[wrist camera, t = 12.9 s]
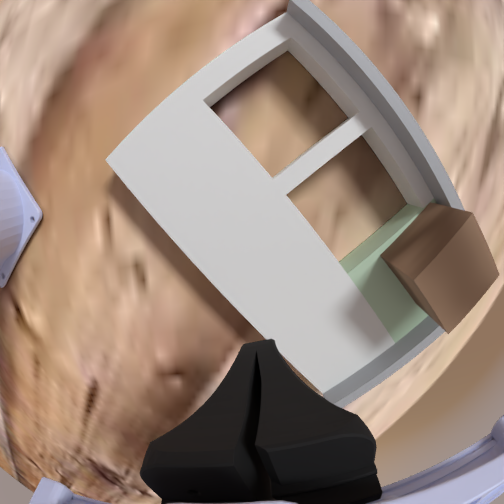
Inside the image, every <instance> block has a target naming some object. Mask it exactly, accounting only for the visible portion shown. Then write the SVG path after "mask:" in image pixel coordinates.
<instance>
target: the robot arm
mask: <svg viewBox="0 0 504 504" xmlns="http://www.w3.org/2000/svg"><path fill="white" fill-rule="evenodd" d="M33 217H34V219H35V221H34V220H33ZM41 219H42V211H41V209H40V207H39V206H38V204H37V203H36V201H35V200H34V198H33V197H32V195H31V194H30V192H29V190H28V189H27V187H26V186H25V184H24V182H23V181H22V179H21V177H20V176H19V174H18V172H17V171H16V169H15V167H14V165H13V164H12V162H11V160H10V158H9V156H8V155H7V153H6V151H5V149H4V147H0V287H1V288H3V287H4V286H5V285H6V283H7V281H8V279H9V277H10V275H11V273H12V271H13V269H14V267H15V265H16V263H17V261H18V259H19V257H20V255H21V253H22V251H23V250H24V248H25V246H26V244H27V242H28V241H29V239H30V237H31V236H32V234H33V232H34V230H35V229H36V227H37V225H38V224H39V222H40V221H41ZM375 453H376V441H375V439H374V437H373V435H372V433H371V432H370V430H369V429H368V427H367V426H366V425H365V423H364V422H363V421H362V420H361V419H360V417H359V416H358V415H356V414H354V413H351V412H349V411H346V410H344V409H342V408H340V407H338V406H336V405H335V404H333V403H331V402H329V401H328V400H326V399H325V398H323V397H322V396H320V395H319V394H317V393H316V392H315V391H313V390H312V389H311V388H310V387H308V386H307V385H306V384H305V383H304V382H303V381H302V380H301V379H300V378H299V377H298V376H297V375H296V374H295V373H294V372H293V371H292V369H291V368H290V367H289V366H288V364H287V363H286V362H285V360H284V359H283V357H282V356H281V354H280V353H279V351H278V349H277V347H276V343H275V340H273V339H267V340H262V341H257V342H252V343H247V344H243V346H242V347H241V349H240V351H239V353H238V355H237V357H236V359H235V361H234V363H233V365H232V366H231V368H230V370H229V371H228V373H227V375H226V376H225V378H224V379H223V381H222V382H221V384H220V385H219V387H218V388H217V389H216V391H215V392H214V393H213V394H212V396H211V397H210V398H209V399H208V400H207V401H206V402H205V403H204V404H203V405H202V406H201V407H200V408H199V409H198V410H197V411H196V412H195V413H194V414H193V415H191V416H190V417H189V418H188V419H186V420H185V421H184V422H183V423H181V424H180V425H178V426H177V427H176V428H174V429H173V430H171V431H170V432H168V433H166V434H164V435H163V436H161V437H159V438H157V439H156V440H154V441H152V442H150V444H149V447H148V449H147V451H146V454H145V458H144V461H143V464H142V467H141V471H140V476H141V478H142V480H143V481H144V482H145V483H146V485H148V486H149V487H150V488H151V489H152V490H153V491H154V492H155V493H156V494H157V495H158V496H159V497H160V498H162V502H161V504H489V503H490V502H492V501H493V500H494V499H496V498H497V497H498V496H500V495H501V494H502V493H503V492H504V415H503V416H502V417H501V418H499V420H498V421H497V422H496V423H495V425H494V426H493V429H492V431H491V433H490V434H488V435H487V436H485V437H484V438H482V439H481V440H479V441H478V442H476V443H474V444H473V445H471V446H469V447H468V448H466V449H464V450H463V451H461V452H459V453H457V454H456V455H454V456H452V457H450V458H448V459H446V460H444V461H442V462H440V463H438V464H436V465H434V466H432V467H430V468H428V469H426V470H424V471H421V472H419V473H417V474H415V475H412V476H410V477H408V478H405V479H403V480H400V481H398V482H395V483H392V484H390V485H387V486H384V487H381V486H380V483H379V480H378V477H377V475H376V474H377V469H376V466H375V464H374V460H375ZM29 504H111V503H106V502H102V501H98V500H94V499H91V498H87V497H84V496H80V495H77V494H74V493H73V492H72V491H71V490H70V489H69V488H67V487H66V486H65V485H63V484H62V483H60V482H57V481H54V480H52V479H49V478H46V477H42V479H41V481H40V483H39V485H38V487H37V488H36V490H35V492H34V495H33V496H32V499H31V500H30V503H29Z"/></svg>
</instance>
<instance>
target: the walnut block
mask: <svg viewBox="0 0 504 504" xmlns="http://www.w3.org/2000/svg"><path fill="white" fill-rule="evenodd" d="M380 256H381V258H382V259H383V260H384V261H385V263H386V264H387V265H388V267H389V268H390V269H391V270H392V272H393V273H394V274H395V276H396V277H397V278H398V280H399V281H400V282H401V284H402V285H403V287H404V288H405V289H406V291H407V292H408V293H409V295H410V296H411V298H412V299H413V300H414V302H415V303H416V304H417V305H418V306H419V307H420V308H421V309H422V310H423V311H424V312H425V313H427V314H428V315H429V316H430V317H431V318H432V319H433V320H434V321H435V322H436V323H437V324H438V325H439V326H440V327H441V328H442V329H443V330H444V331H446V332H447V333H448V334H449V333H450V332H451V331H452V330H453V329H454V328H455V327H456V326H457V325H458V324H459V323H460V321H461V320H462V319H463V318H464V317H465V316H466V315H467V314H468V313H469V312H470V310H471V309H472V308H473V307H474V306H475V305H476V303H477V302H478V301H479V300H480V299H481V298H482V296H483V295H484V294H485V293H486V291H487V290H488V289H489V288H490V286H491V285H492V284H493V283H494V281H495V280H496V279H497V277H498V276H499V272H498V270H497V267H496V264H495V262H494V259H493V257H492V254H491V252H490V249H489V247H488V245H487V242H486V240H485V238H484V236H483V233H482V231H481V229H480V227H479V225H478V223H477V221H476V219H475V216H474V214H473V213H471V212H468V211H464V210H460V209H456V208H452V207H448V206H444V205H440V204H436V203H431V202H430V203H429V204H428V205H427V206H426V207H425V208H424V210H423V211H422V212H421V213H420V214H419V215H418V216H417V217H416V218H415V219H414V221H413V222H412V223H411V224H410V225H409V226H408V227H407V228H406V229H405V230H404V231H403V232H402V233H401V234H400V235H399V236H398V237H397V238H396V239H395V241H394V242H393V243H392V244H391V245H390V246H389V247H388V248H387V249H386V250H385V251H384V252H383V253H382V254H381V255H380Z"/></svg>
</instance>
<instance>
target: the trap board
mask: <svg viewBox="0 0 504 504" xmlns="http://www.w3.org/2000/svg"><path fill="white" fill-rule="evenodd" d="M286 51H289V52H290V53H291V54H292V55H293V56H294V57H295V58H296V59H297V60H298V61H299V62H300V63H301V64H302V65H303V66H304V68H305V69H306V70H307V71H308V72H309V73H310V74H311V75H312V76H313V77H314V78H315V79H316V80H317V81H318V83H319V84H320V85H321V86H322V87H323V88H324V89H325V90H326V92H327V93H328V94H329V95H330V96H331V97H332V99H333V100H334V101H335V102H336V103H337V105H338V106H339V107H340V108H341V109H342V111H343V112H344V113H345V114H346V116H347V117H348V119H347V120H345V121H344V122H343V123H341V124H340V125H339V126H337V127H336V128H335V129H334V130H332V131H331V132H330V133H328V134H327V135H326V136H324V137H323V138H322V139H320V140H319V141H318V142H317V143H315V144H314V145H313V146H311V147H310V148H309V149H308V150H306V151H305V152H304V153H303V154H301V155H300V156H299V157H298V158H296V159H295V160H294V161H292V162H291V163H290V164H289V165H287V166H286V167H285V168H284V169H283V170H281V171H280V172H279V173H278V174H276V175H275V176H274V177H273V178H272V177H271V176H270V175H269V174H268V173H267V171H266V170H265V169H264V168H263V167H262V165H261V164H260V163H259V162H258V161H257V160H256V158H255V157H254V156H253V155H252V154H251V153H250V152H249V150H248V149H247V148H246V147H245V146H244V145H243V144H242V143H241V141H240V140H239V139H238V138H237V137H236V136H235V135H234V134H233V132H232V131H231V130H230V129H229V128H228V127H227V126H226V125H225V124H224V123H223V121H222V120H221V119H220V118H219V117H218V116H217V115H216V114H215V113H214V112H213V111H212V110H211V108H210V107H211V106H212V105H214V104H215V103H216V102H217V101H218V100H220V99H221V98H222V97H224V96H225V95H226V94H227V93H229V92H230V91H231V90H232V89H234V88H235V87H236V86H238V85H239V84H240V83H242V82H243V81H244V80H246V79H247V78H248V77H250V76H251V75H253V74H254V73H255V72H257V71H258V70H260V69H261V68H263V67H264V66H265V65H267V64H268V63H270V62H271V61H273V60H274V59H276V58H277V57H279V56H280V55H282V54H283V53H285V52H286ZM361 135H362V136H363V138H364V139H365V140H366V142H367V143H368V144H369V146H370V147H371V149H372V150H373V151H374V153H375V154H376V156H377V157H378V159H379V160H380V162H381V163H382V164H383V166H384V167H385V169H386V170H387V172H388V173H389V175H390V177H391V178H392V180H393V181H394V183H395V184H396V186H397V188H398V189H399V191H400V192H401V194H402V196H403V197H404V199H405V201H406V202H407V205H406V206H404V207H403V208H402V209H401V210H400V211H399V212H398V213H397V214H395V215H394V216H393V217H392V218H391V219H390V220H389V221H387V222H386V223H385V224H384V225H383V226H382V227H380V228H379V229H378V230H377V231H376V232H375V233H373V234H372V235H371V236H370V237H369V238H367V239H366V240H365V241H364V242H363V243H361V244H360V245H359V246H358V247H357V248H355V249H354V250H353V251H352V252H351V253H349V254H348V255H347V256H346V257H344V258H343V259H342V260H341V261H340V262H338V261H337V259H336V258H335V257H334V255H333V254H332V253H331V251H330V250H329V249H328V247H327V246H326V245H325V243H324V242H323V241H322V239H321V238H320V237H319V236H318V234H317V233H316V232H315V230H314V229H313V228H312V227H311V225H310V224H309V223H308V221H307V220H306V219H305V218H304V216H303V215H302V214H301V213H300V211H299V210H298V209H297V208H296V206H295V205H294V204H293V203H292V201H291V200H290V199H289V198H288V197H287V195H286V194H288V193H289V192H290V191H291V190H293V189H294V188H295V187H296V186H298V185H299V184H300V183H301V182H302V181H304V180H305V179H306V178H307V177H309V176H310V175H311V174H312V173H314V172H315V171H316V170H317V169H319V168H320V167H321V166H322V165H324V164H325V163H326V162H327V161H329V160H330V159H331V158H333V157H334V156H335V155H336V154H338V153H339V152H340V151H341V150H343V149H344V148H345V147H346V146H348V145H349V144H350V143H352V142H353V141H354V140H355V139H357V138H358V137H359V136H361ZM106 161H107V163H108V164H109V165H110V166H111V168H112V169H113V170H114V171H115V173H116V174H117V175H118V176H119V177H120V179H121V180H122V181H123V182H124V184H125V185H126V186H127V187H128V188H129V190H130V191H131V192H132V193H133V194H134V196H135V197H136V198H137V199H138V200H139V202H140V203H141V204H142V205H143V206H144V207H145V209H146V210H147V211H148V212H149V213H150V214H151V216H152V217H153V218H154V219H155V220H156V221H157V223H158V224H159V225H160V226H161V227H162V228H163V229H164V231H165V232H166V233H167V234H168V235H169V236H170V237H171V239H172V240H173V241H174V242H175V243H176V244H177V245H178V246H179V248H180V249H181V250H182V251H183V252H184V253H185V254H186V255H187V256H188V258H189V259H190V260H191V261H192V262H193V263H194V264H195V265H196V266H197V267H198V269H199V270H200V271H201V272H202V273H203V274H204V275H205V276H206V277H207V278H208V279H209V280H210V282H211V283H212V284H213V285H214V286H215V287H216V288H217V289H218V290H219V291H220V292H221V293H222V294H223V295H224V296H225V298H226V299H227V300H228V301H229V302H230V303H231V304H232V305H233V306H234V307H235V308H236V309H237V310H238V311H239V312H240V313H241V314H242V315H243V316H244V317H245V318H246V319H247V320H248V321H249V322H250V323H251V324H252V325H253V326H254V327H255V328H256V329H257V331H258V332H259V333H260V334H261V335H262V336H263V337H264V338H265V339H266V340H267V339H273V340H275V343H276V347H277V349H278V351H279V352H280V353H281V354H282V355H283V356H284V357H285V358H286V359H287V360H288V361H289V362H290V363H291V364H292V365H293V366H294V367H295V368H296V369H297V370H298V371H299V372H300V373H301V374H302V375H303V376H304V377H305V378H307V379H308V380H309V381H310V382H311V383H312V384H313V385H314V386H315V387H316V388H317V389H318V390H319V391H320V392H321V393H323V396H324V398H325V399H326V400H328V401H329V402H331V403H333V404H335V405H336V406H338V407H340V408H343V407H344V406H346V405H348V404H349V403H351V402H352V401H354V400H356V399H357V398H359V397H360V396H362V395H363V394H365V393H366V392H368V391H369V390H371V389H372V388H374V387H375V386H377V385H378V384H380V383H381V382H382V381H384V380H385V379H387V378H388V377H389V376H391V375H392V374H394V373H395V372H396V371H398V370H399V369H400V368H402V367H403V366H404V365H405V364H407V363H408V362H409V361H411V360H412V359H413V358H414V357H416V356H417V355H418V354H419V353H420V352H422V351H423V350H424V349H425V348H426V347H428V346H429V345H430V344H431V343H432V342H433V341H435V340H436V339H437V338H438V337H439V336H440V335H441V334H443V333H444V332H445V331H444V330H443V329H442V328H441V327H440V326H439V325H438V324H437V323H436V322H435V321H434V320H433V319H432V318H431V317H430V316H429V315H428V314H427V313H425V312H424V311H423V310H422V309H421V308H420V307H419V306H418V305H417V304H416V303H415V302H414V300H413V299H412V298H411V296H410V295H409V293H408V292H407V291H406V289H405V288H404V287H403V285H402V284H401V282H400V281H399V280H398V278H397V277H396V276H395V274H394V273H393V272H392V270H391V269H390V268H389V267H388V265H387V264H386V263H385V261H384V260H383V259H382V258H381V256H380V255H381V254H382V253H383V252H384V251H385V250H386V249H387V248H388V247H389V246H390V245H391V244H392V243H393V242H394V241H395V239H396V238H397V237H398V236H399V235H400V234H401V233H402V232H403V231H404V230H405V229H406V228H407V227H408V226H409V225H410V224H411V223H412V222H413V221H414V219H415V218H416V217H417V216H418V215H419V214H420V213H421V212H422V211H423V210H424V208H425V207H426V206H427V205H428V204H429V203H430V202H431V203H436V204H440V205H444V206H448V207H452V208H456V209H460V210H464V208H463V205H462V203H461V201H460V199H459V197H458V194H457V192H456V190H455V188H454V186H453V184H452V182H451V180H450V178H449V176H448V174H447V172H446V171H445V169H444V167H443V165H442V163H441V161H440V159H439V158H438V156H437V154H436V152H435V151H434V149H433V147H432V146H431V144H430V142H429V141H428V139H427V137H426V136H425V134H424V132H423V131H422V129H421V128H420V126H419V125H418V123H417V122H416V120H415V119H414V117H413V116H412V114H411V113H410V111H409V110H408V108H407V107H406V106H405V104H404V103H403V101H402V100H401V99H400V97H399V96H398V94H397V93H396V92H395V90H394V89H393V88H392V87H391V85H390V84H389V83H388V81H387V80H386V79H385V78H384V76H383V75H382V74H381V73H380V72H379V70H378V69H377V68H376V67H375V66H374V64H373V63H372V62H371V61H370V60H369V59H368V57H367V56H366V55H365V54H364V53H363V52H362V51H361V50H360V49H359V47H358V46H357V45H356V44H355V43H354V42H353V41H352V40H351V39H350V38H349V37H348V36H347V35H346V34H345V33H344V32H343V31H342V30H341V29H340V28H339V27H338V26H337V25H336V24H335V23H334V22H333V21H332V20H331V19H330V18H329V17H328V16H326V15H325V14H324V13H323V12H322V11H321V10H320V9H319V8H318V7H316V6H315V5H314V4H313V3H312V2H311V1H309V0H289V4H288V8H287V12H286V13H285V14H283V15H281V16H279V17H277V18H276V19H274V20H272V21H271V22H269V23H267V24H265V25H264V26H262V27H261V28H259V29H257V30H256V31H254V32H253V33H251V34H249V35H248V36H246V37H245V38H243V39H242V40H240V41H239V42H237V43H236V44H234V45H233V46H232V47H230V48H229V49H227V50H226V51H224V52H223V53H222V54H220V55H219V56H218V57H216V58H215V59H213V60H212V61H211V62H209V63H208V64H207V65H206V66H204V67H203V68H202V69H200V70H199V71H198V72H197V73H195V74H194V75H193V76H192V77H190V78H189V79H188V80H187V81H186V82H184V83H183V84H182V85H181V86H180V87H178V88H177V89H176V90H175V91H174V92H173V93H171V94H170V95H169V96H168V97H167V98H166V99H165V100H164V101H162V102H161V103H160V104H159V105H158V106H157V107H156V108H155V109H154V110H153V111H152V112H151V113H150V114H149V115H148V116H146V117H145V118H144V119H143V120H142V121H141V122H140V123H139V124H138V125H137V126H136V127H135V128H134V129H133V130H132V131H131V132H130V133H129V135H128V136H127V137H126V138H125V139H124V140H123V141H122V142H121V143H120V144H119V145H118V146H117V147H116V148H115V150H114V151H113V152H112V153H111V154H110V155H109V156H108V157H107V158H106ZM464 211H465V210H464Z"/></svg>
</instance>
